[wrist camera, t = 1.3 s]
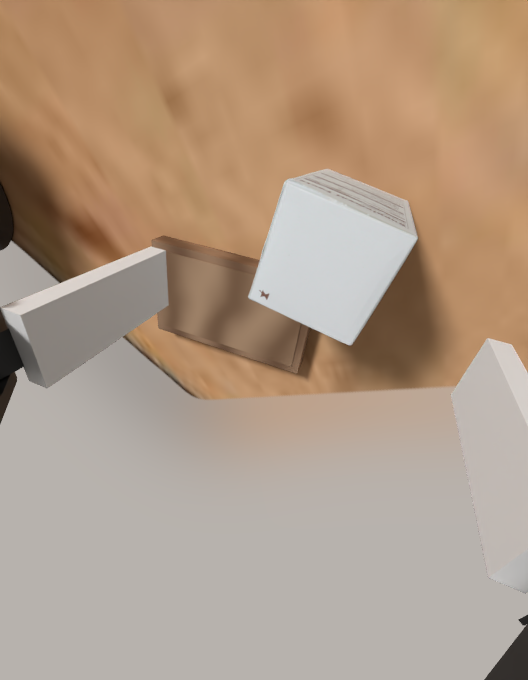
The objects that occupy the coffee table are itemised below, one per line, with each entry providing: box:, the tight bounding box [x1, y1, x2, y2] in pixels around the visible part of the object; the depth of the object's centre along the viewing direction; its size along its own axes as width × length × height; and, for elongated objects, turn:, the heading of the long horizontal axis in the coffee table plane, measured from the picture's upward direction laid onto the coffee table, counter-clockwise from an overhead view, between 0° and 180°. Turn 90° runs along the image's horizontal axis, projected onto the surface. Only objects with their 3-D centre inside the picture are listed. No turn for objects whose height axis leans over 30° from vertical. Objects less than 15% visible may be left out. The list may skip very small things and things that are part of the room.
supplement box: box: [248, 169, 418, 345], centre depth 22 cm, size 7×7×13 cm
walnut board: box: [152, 236, 310, 374], centre depth 34 cm, size 18×11×2 cm, turn 81°
